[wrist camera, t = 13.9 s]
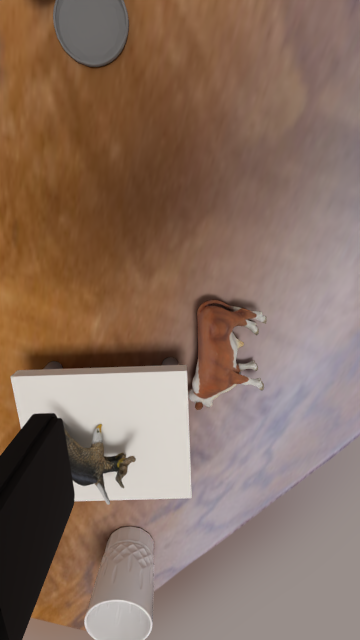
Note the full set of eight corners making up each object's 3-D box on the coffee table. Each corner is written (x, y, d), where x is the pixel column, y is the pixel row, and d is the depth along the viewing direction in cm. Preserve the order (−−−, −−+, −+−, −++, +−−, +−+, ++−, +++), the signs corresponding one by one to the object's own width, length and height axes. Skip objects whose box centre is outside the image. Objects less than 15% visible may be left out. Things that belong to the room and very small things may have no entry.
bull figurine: (251, 398, 41) (187, 401, 41) (258, 295, 37) (186, 297, 37) (262, 419, 37) (190, 423, 37) (271, 305, 33) (190, 308, 33)
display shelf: (186, 349, 39) (186, 370, 33) (190, 461, 43) (191, 498, 38) (35, 354, 39) (10, 376, 33) (55, 465, 44) (36, 502, 38)
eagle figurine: (141, 418, 33) (49, 402, 31) (133, 496, 29) (24, 484, 27) (124, 441, 39) (45, 429, 37) (114, 509, 34) (24, 501, 32)
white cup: (169, 540, 47) (166, 621, 38) (136, 572, 49) (125, 656, 40) (125, 513, 46) (110, 590, 36) (93, 546, 48) (71, 627, 38)
